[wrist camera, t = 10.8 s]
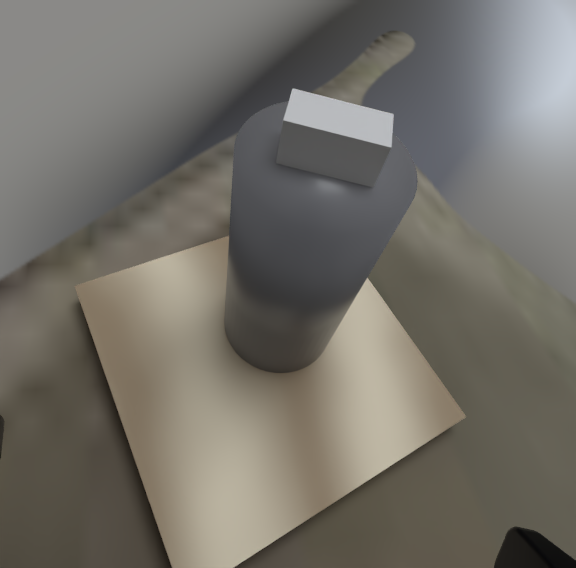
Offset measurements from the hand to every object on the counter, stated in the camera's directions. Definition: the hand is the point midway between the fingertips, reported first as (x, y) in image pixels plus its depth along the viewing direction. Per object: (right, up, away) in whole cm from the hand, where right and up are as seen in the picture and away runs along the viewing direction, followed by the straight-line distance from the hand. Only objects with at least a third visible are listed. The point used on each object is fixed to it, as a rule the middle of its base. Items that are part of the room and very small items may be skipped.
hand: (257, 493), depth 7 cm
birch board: (0, 0, +11) cm, 11 cm away
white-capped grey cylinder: (0, +2, +11) cm, 11 cm away
